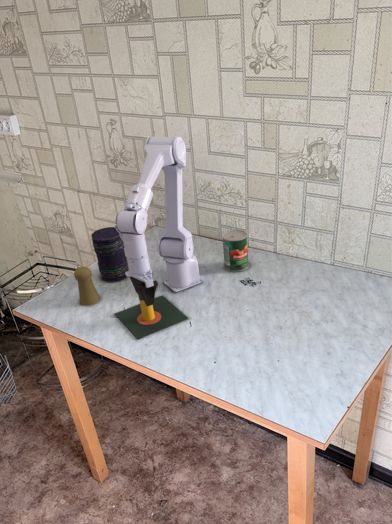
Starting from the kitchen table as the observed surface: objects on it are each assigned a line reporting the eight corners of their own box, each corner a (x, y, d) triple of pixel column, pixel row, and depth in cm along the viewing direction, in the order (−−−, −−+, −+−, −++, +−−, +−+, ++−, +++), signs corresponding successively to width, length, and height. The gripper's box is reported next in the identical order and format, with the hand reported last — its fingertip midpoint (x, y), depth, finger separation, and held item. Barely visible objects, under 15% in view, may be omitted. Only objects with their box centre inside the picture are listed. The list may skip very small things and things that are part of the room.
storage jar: (136, 271, 171) (128, 229, 162) (117, 284, 165) (108, 242, 156) (113, 265, 176) (104, 225, 167) (94, 279, 170) (84, 237, 161)
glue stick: (150, 313, 148) (146, 287, 143) (157, 317, 145) (152, 292, 140) (140, 317, 146) (135, 292, 141) (146, 322, 144) (141, 296, 139)
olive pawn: (95, 305, 156) (87, 273, 149) (77, 305, 157) (68, 273, 150) (102, 295, 160) (94, 264, 154) (84, 295, 162) (76, 264, 155)
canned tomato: (232, 258, 171) (230, 228, 165) (253, 263, 167) (251, 232, 161) (219, 269, 166) (217, 237, 160) (240, 274, 162) (238, 242, 156)
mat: (162, 296, 156) (162, 294, 156) (188, 318, 144) (188, 317, 144) (114, 314, 150) (114, 312, 150) (137, 339, 139) (137, 337, 138)
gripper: (114, 248, 138) (123, 292, 147) (131, 269, 128) (140, 315, 136) (138, 241, 140) (146, 284, 149) (157, 261, 130) (165, 307, 138)
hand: (145, 298), depth 142 cm, fingers open, 7 cm apart
